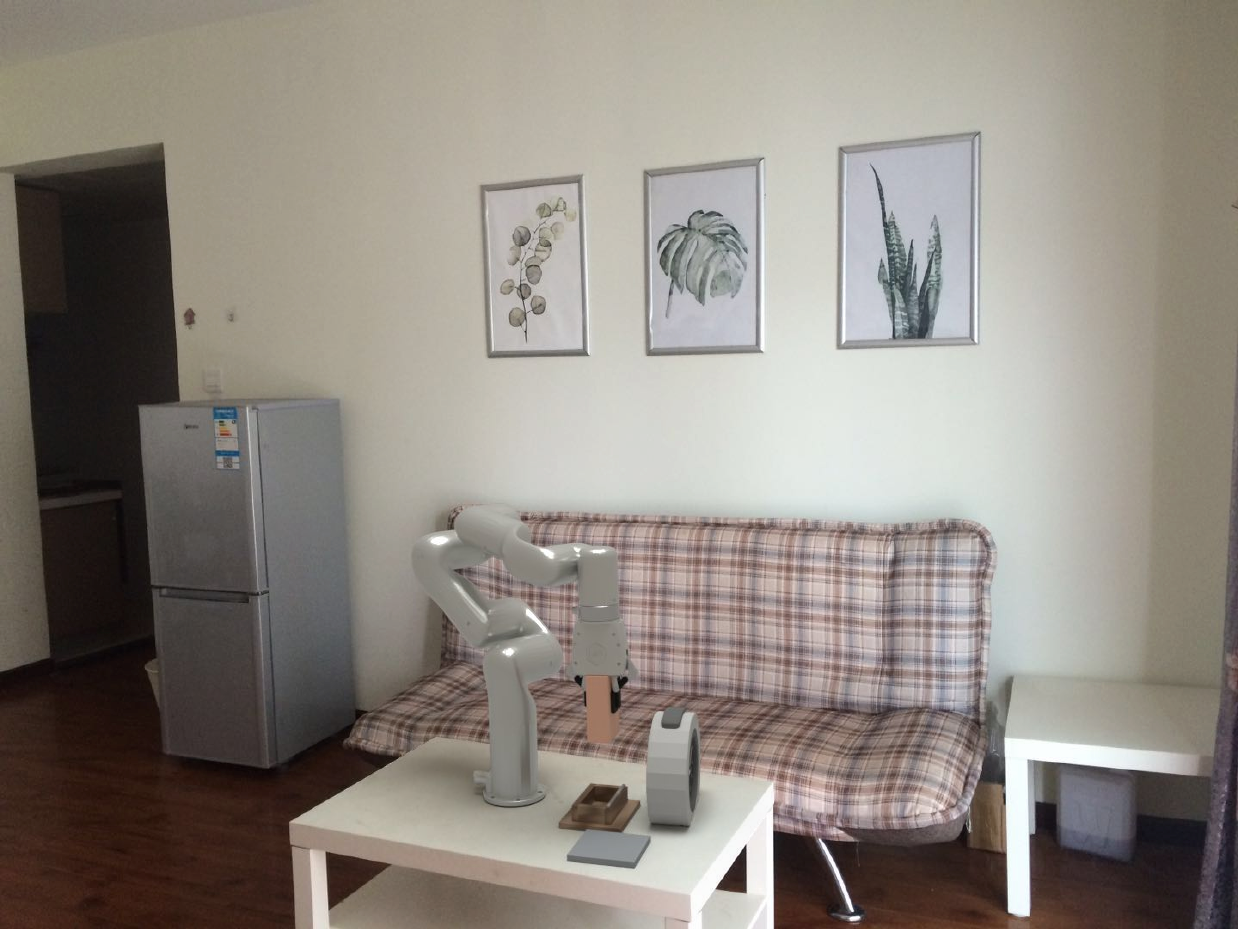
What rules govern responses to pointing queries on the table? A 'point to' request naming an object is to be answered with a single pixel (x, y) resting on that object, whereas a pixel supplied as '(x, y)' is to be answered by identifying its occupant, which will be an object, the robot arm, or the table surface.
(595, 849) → the mat
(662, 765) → the alarm clock
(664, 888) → the table surface
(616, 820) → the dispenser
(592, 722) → the salmon pink tall block
